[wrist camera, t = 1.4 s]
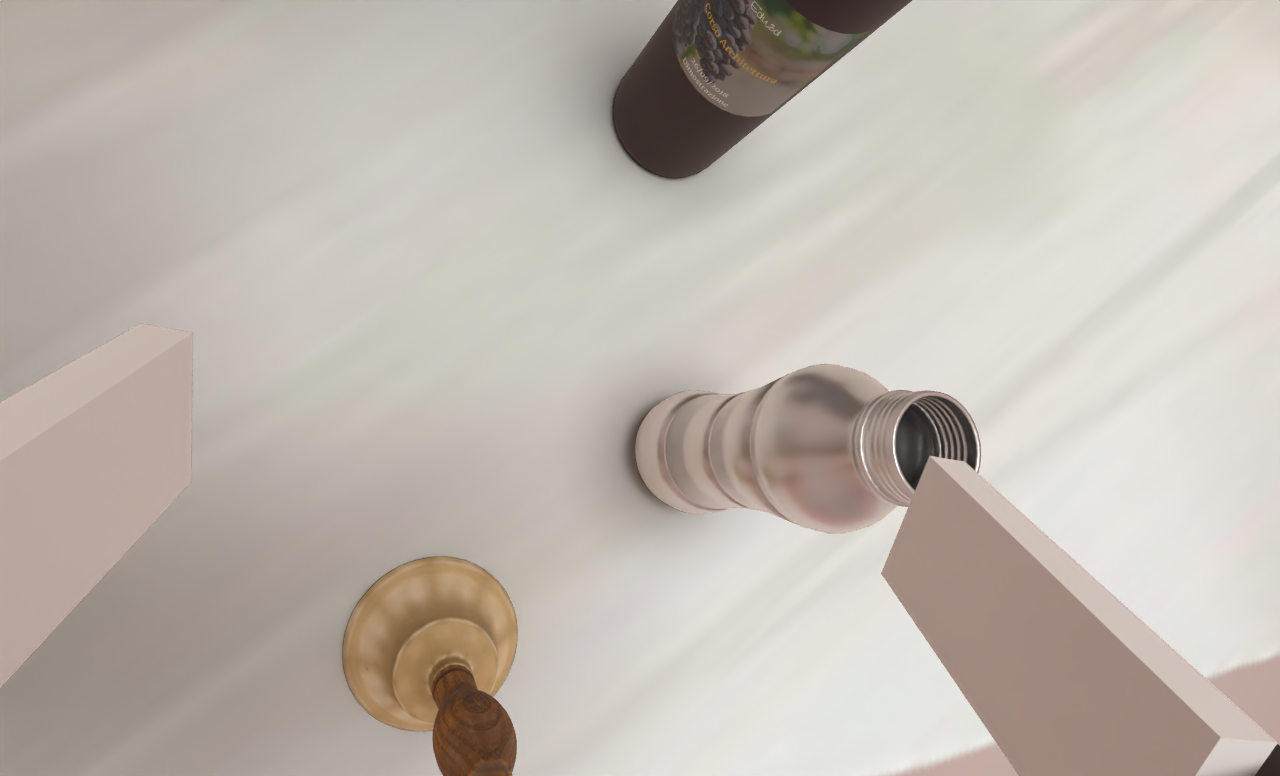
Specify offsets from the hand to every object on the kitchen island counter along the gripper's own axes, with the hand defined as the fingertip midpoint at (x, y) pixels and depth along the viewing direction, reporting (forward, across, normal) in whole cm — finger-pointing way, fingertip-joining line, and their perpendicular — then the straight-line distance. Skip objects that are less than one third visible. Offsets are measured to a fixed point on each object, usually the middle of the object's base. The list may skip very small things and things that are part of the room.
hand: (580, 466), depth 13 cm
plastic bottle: (+25, +9, -11) cm, 29 cm away
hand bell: (+18, -3, -20) cm, 27 cm away
